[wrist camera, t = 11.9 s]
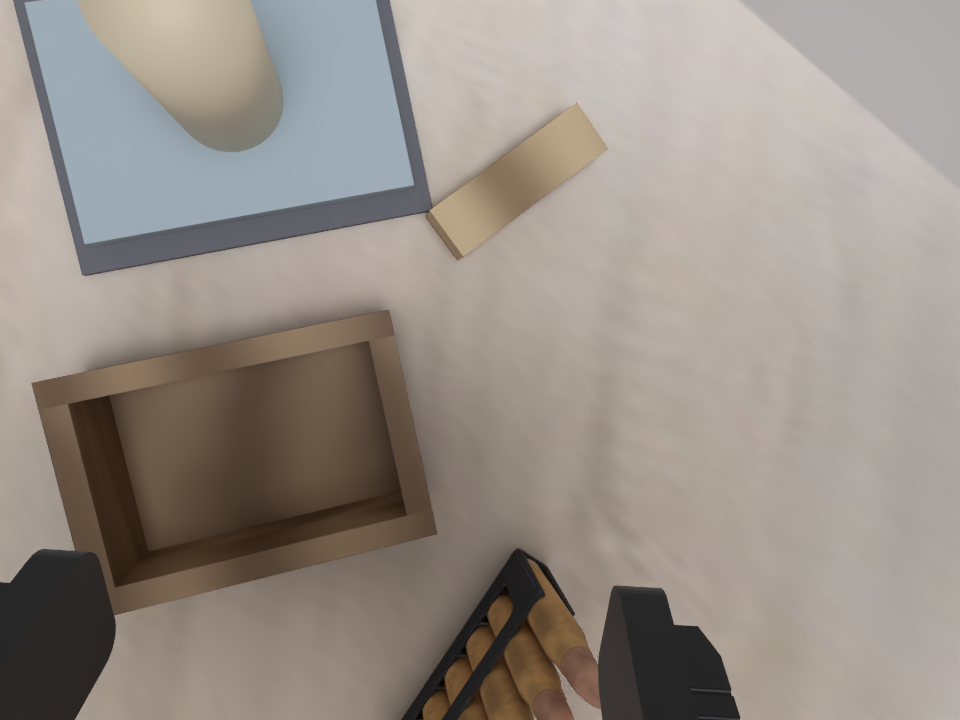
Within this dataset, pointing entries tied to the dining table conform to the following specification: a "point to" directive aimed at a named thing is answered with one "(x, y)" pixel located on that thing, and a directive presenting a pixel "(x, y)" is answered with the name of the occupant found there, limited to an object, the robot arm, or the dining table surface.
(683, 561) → the dining table surface
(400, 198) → the mat
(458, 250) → the wooden block
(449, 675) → the ammunition clip
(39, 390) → the wooden box
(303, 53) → the lid
